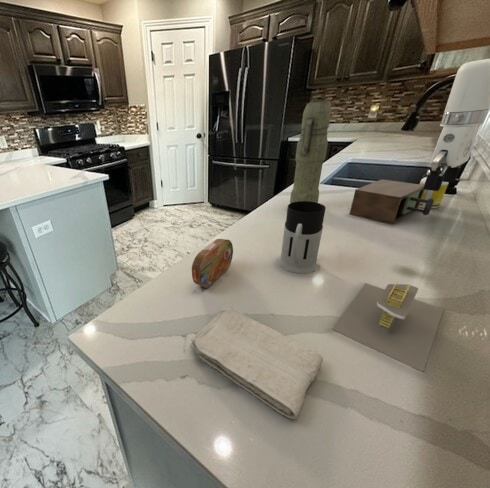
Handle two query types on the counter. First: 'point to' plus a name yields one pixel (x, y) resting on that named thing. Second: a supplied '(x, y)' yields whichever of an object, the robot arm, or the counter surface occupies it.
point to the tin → (212, 262)
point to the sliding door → (412, 201)
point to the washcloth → (259, 360)
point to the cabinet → (384, 200)
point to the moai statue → (311, 151)
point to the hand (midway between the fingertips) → (438, 185)
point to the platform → (392, 322)
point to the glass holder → (302, 236)
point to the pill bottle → (433, 194)
